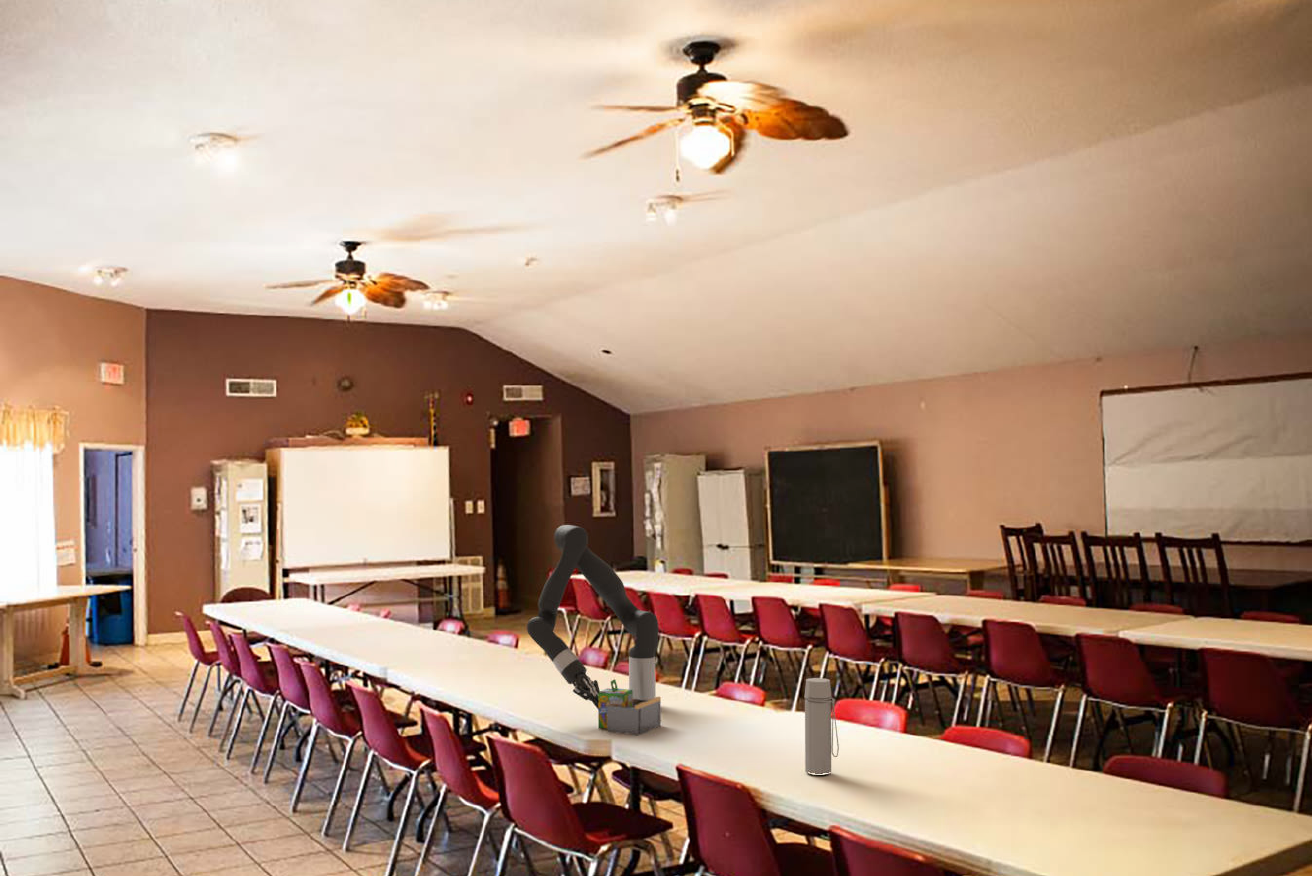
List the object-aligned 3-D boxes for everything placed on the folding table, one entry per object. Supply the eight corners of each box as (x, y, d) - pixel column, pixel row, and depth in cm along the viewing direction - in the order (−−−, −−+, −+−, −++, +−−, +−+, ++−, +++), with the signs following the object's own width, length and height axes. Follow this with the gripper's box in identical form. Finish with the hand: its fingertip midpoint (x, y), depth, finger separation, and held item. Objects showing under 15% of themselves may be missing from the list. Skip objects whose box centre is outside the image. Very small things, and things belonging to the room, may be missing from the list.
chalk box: (624, 730, 362) (624, 683, 362) (597, 729, 364) (597, 682, 365) (633, 725, 370) (634, 678, 371) (607, 723, 373) (607, 677, 374)
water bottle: (801, 776, 306) (801, 681, 307) (808, 769, 313) (807, 677, 314) (835, 779, 302) (834, 683, 303) (841, 772, 310) (841, 679, 311)
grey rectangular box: (630, 722, 374) (630, 694, 375) (660, 725, 369) (660, 696, 370) (606, 732, 360) (606, 702, 360) (637, 735, 355) (637, 705, 355)
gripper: (566, 661, 369) (598, 703, 363) (586, 656, 381) (618, 696, 375) (551, 676, 371) (584, 718, 365) (572, 670, 383) (604, 711, 377)
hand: (601, 707), depth 370 cm, fingers closed
